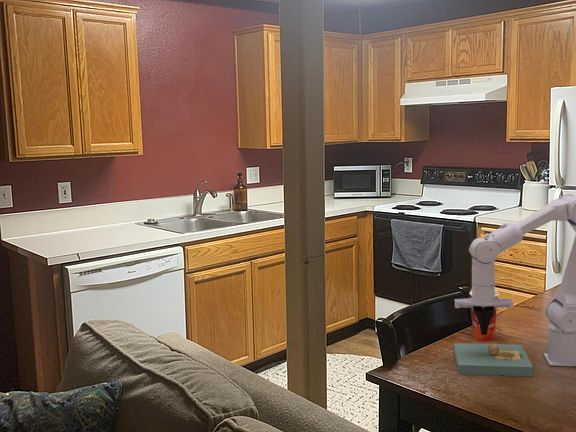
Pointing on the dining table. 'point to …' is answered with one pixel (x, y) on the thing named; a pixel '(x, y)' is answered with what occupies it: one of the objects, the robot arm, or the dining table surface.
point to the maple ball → (493, 349)
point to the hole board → (492, 360)
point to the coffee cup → (491, 327)
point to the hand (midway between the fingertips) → (483, 333)
